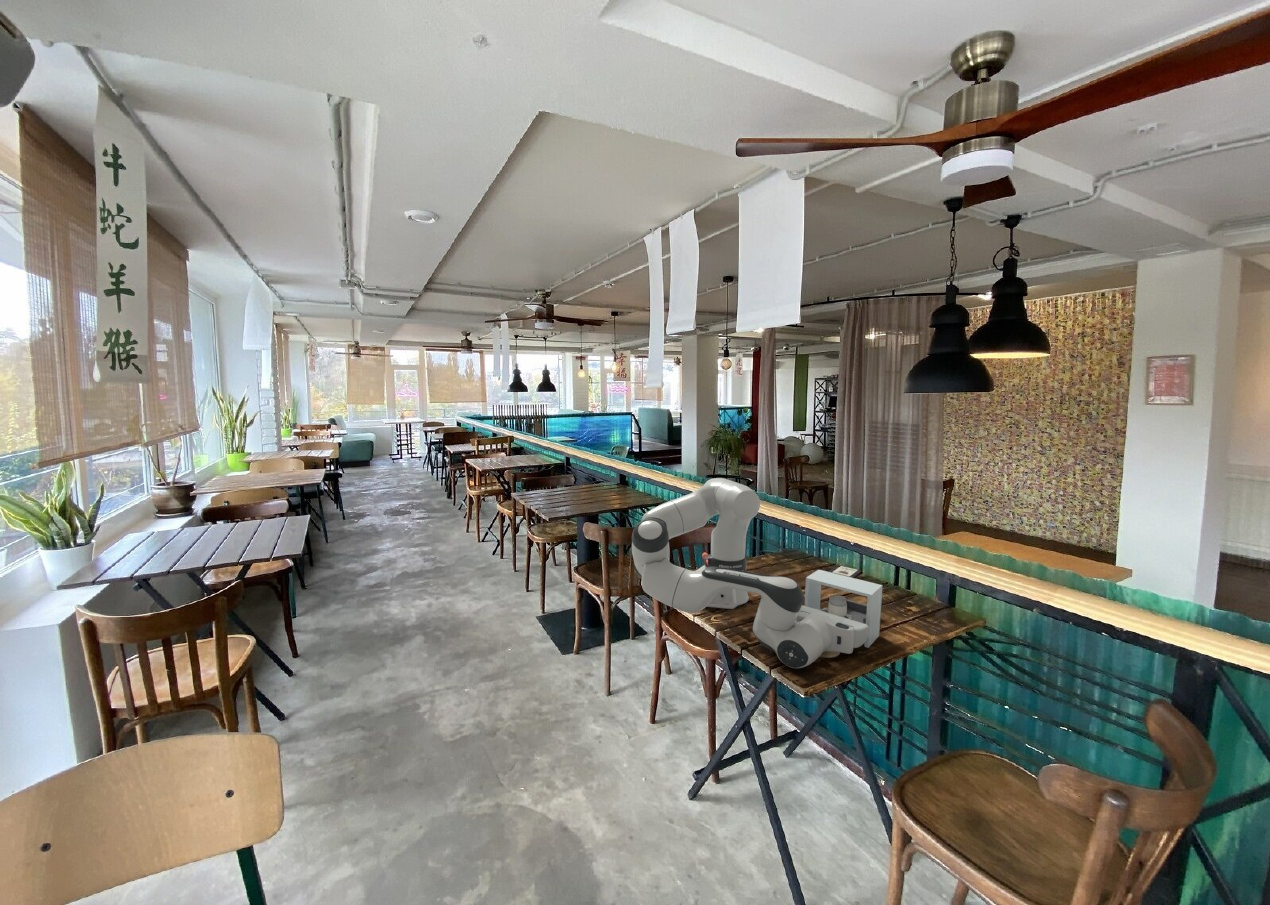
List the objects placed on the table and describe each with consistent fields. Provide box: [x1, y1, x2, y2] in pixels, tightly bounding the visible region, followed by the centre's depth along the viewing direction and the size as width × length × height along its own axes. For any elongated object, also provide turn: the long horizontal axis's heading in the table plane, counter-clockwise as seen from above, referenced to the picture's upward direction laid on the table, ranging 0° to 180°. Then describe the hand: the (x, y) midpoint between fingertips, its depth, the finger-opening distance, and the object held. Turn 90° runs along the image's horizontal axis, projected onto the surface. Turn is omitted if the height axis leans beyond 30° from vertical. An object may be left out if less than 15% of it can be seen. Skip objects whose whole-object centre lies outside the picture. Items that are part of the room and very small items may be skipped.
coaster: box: [819, 651, 841, 659], centre depth 135 cm, size 9×9×1 cm
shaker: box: [827, 594, 848, 618], centre depth 142 cm, size 5×5×11 cm
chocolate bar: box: [827, 565, 862, 579], centre depth 188 cm, size 9×1×18 cm
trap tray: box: [846, 599, 867, 624], centre depth 153 cm, size 10×10×3 cm
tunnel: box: [804, 569, 883, 648], centre depth 144 cm, size 9×18×15 cm, turn 48°
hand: (838, 614), depth 142 cm, fingers closed on shaker, 5 cm apart
